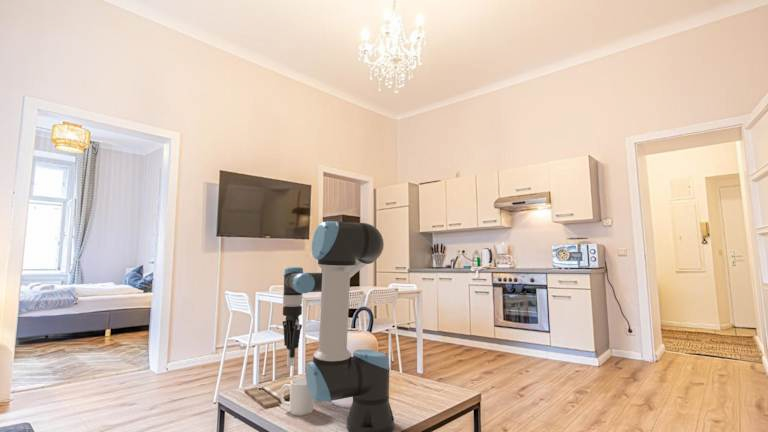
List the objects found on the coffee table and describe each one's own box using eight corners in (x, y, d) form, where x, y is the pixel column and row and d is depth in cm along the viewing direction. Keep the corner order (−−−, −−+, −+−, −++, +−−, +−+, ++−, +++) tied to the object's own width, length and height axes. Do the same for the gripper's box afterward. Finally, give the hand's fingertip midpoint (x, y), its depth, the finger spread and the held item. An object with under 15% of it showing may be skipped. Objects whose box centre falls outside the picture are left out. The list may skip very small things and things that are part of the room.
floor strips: (278, 404, 143) (278, 401, 143) (264, 408, 140) (264, 404, 140) (258, 389, 158) (258, 386, 159) (244, 392, 155) (244, 389, 155)
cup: (310, 416, 133) (311, 385, 134) (275, 415, 134) (276, 384, 135) (316, 407, 141) (316, 377, 142) (283, 405, 142) (284, 376, 143)
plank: (303, 389, 151) (302, 385, 151) (279, 402, 145) (278, 398, 145) (285, 379, 164) (284, 375, 164) (262, 390, 158) (261, 386, 157)
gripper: (308, 306, 157) (306, 367, 155) (293, 303, 167) (292, 360, 165) (291, 307, 152) (288, 370, 150) (277, 304, 162) (274, 363, 160)
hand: (290, 365), depth 157 cm, fingers closed
